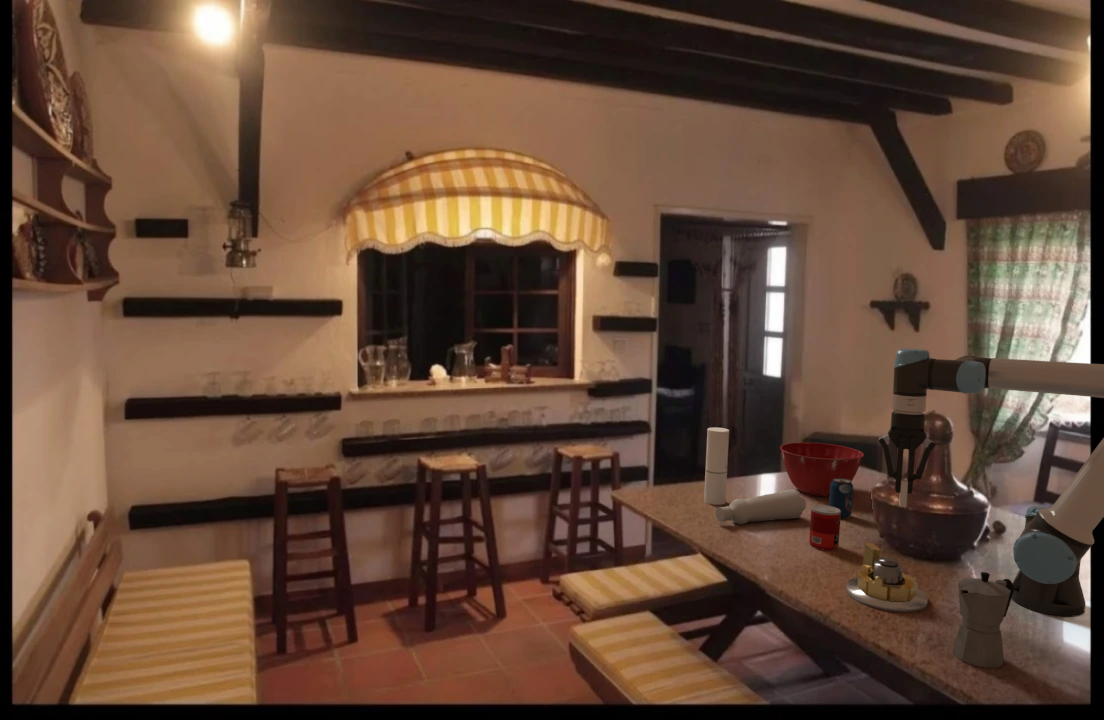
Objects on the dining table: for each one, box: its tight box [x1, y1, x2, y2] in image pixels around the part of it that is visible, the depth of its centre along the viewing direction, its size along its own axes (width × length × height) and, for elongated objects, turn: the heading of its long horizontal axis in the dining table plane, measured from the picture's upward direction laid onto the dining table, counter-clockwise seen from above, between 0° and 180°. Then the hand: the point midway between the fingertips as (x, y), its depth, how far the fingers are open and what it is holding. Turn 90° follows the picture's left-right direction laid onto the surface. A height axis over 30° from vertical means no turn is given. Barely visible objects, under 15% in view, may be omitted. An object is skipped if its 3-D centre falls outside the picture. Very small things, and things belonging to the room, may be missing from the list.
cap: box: [846, 556, 928, 613], centre depth 185 cm, size 18×18×9 cm
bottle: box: [715, 488, 807, 526], centre depth 241 cm, size 9×9×30 cm
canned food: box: [808, 504, 841, 551], centre depth 219 cm, size 8×8×11 cm
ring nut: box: [857, 542, 918, 601], centre depth 187 cm, size 12×17×8 cm
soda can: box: [828, 478, 854, 519], centre depth 248 cm, size 7×7×12 cm
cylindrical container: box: [703, 427, 730, 506], centre depth 260 cm, size 7×7×25 cm
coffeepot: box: [951, 571, 1015, 669], centre depth 155 cm, size 15×9×18 cm, turn 114°
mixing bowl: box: [779, 441, 865, 497], centre depth 276 cm, size 28×28×16 cm
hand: (902, 505), depth 190 cm, fingers closed
